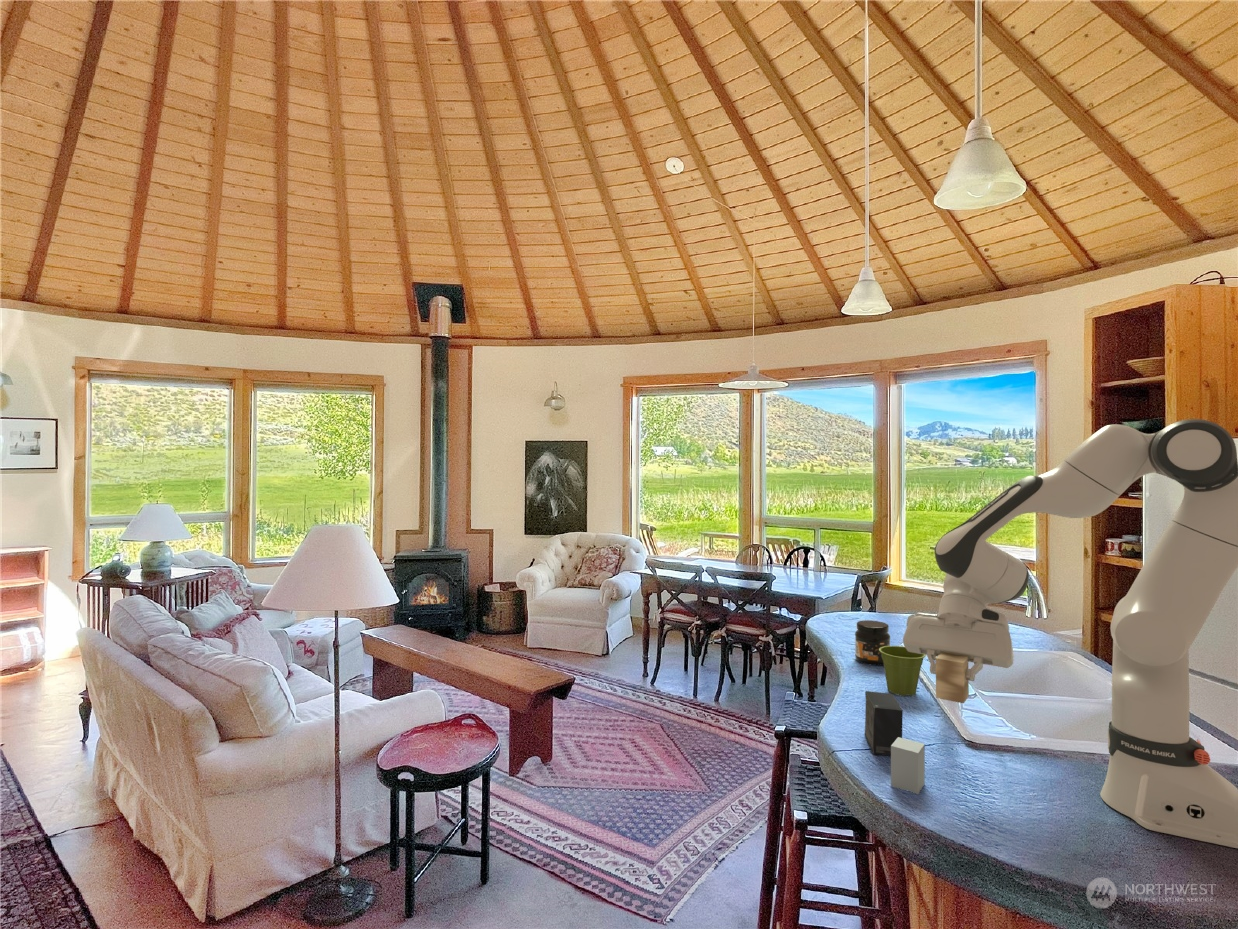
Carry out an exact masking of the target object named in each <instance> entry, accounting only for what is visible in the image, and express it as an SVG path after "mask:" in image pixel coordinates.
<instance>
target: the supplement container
mask: <svg viewBox="0 0 1238 929" xmlns="http://www.w3.org/2000/svg"><path fill="white" fill-rule="evenodd" d="M889 629H890V628H889V624H888V623H886V622H883V621H878V620H869V619H867V620H866V619H864V620H859V621H857V622H856V631H855V632H854V635H855V642H854V643H855V645H854V646H855V647H854V648H855V652H854V656H855V659H856V660H857V661H858V662H859V661H860V662H859V663H861V662H862V663H861V664H865V665H868V664H871V665H870V666H884V662H883V660H882V654H881V652H880V651H879V648H881V647H884V646H891V635H890V634H889Z"/></svg>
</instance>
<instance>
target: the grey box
mask: <svg viewBox="0 0 1238 929" xmlns="http://www.w3.org/2000/svg"><path fill="white" fill-rule="evenodd" d="M925 749H926V744H925V743H923V742H919V741H915V740H911V739H907V738H903V737H902V738H900V737H898V738H897V739H896V740H895V741H894V743H893V744H892V745H891V756H890V787H893V788H895V787H897V788H896V789H899V788H900V789H899V790H902V789H904V790H903V791H905V790H908V791H911V792H910V793H912V792H914V793H913V794H915V793H916V794H915V795H919V794H920V792H921V791H920V790H922V789H923V788H922V787H924V785H925V784H926V782H925V780H926V779H925V776H926V774H925V770H926V769H925V768H926V767H925V766H926V765H925V764H926V763H925V760H926V757H925V756H926V755H925V754H926V753H925V752H926V750H925ZM908 791H907V792H908Z"/></svg>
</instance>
